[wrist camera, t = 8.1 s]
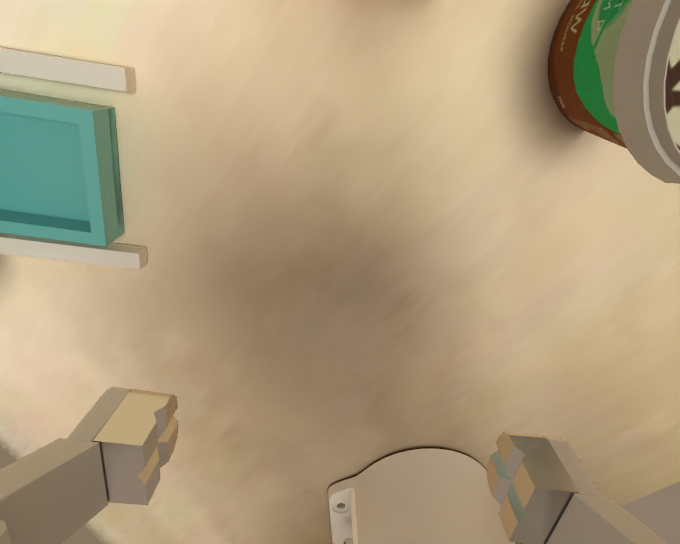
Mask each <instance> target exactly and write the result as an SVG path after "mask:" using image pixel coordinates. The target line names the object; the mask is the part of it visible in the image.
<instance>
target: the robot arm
mask: <svg viewBox="0 0 680 544" xmlns="http://www.w3.org/2000/svg"><path fill="white" fill-rule="evenodd" d="M176 409H177V397H176V396H175V395H172V394H165V393H158V392H150V391H143V390H136V389H133V390H132V389H125V388H118V387H111V388H109V389H107V390H106V391H105V392H104V394H103V395H102V396H101V397H100V398H99V400H98V401H97V402H96V403H95V405H94V406H93V407H92V408H91V409H90V411H89V412H88V413H87V414H86V416H85V417H84V418H83V419H82V421H81V422H80V423H79V424H78V425H77V427H76V428H75V429H74V430H73V432H72V433H71V434H70V435H69V437H68V438H67V439H62V438H59V439H58V440H56V441H54V442H52V443H50V444H48V445H46V446H44V447H42V448H40V449H38V450H37V451H35V452H33V453H31V454H29V455H27V456H25V457H23V458H21V459H19V460H18V461H16V462H14V463H12V464H10V465H8V466H6V467H4V468H2V469H0V544H61V543H63V542H64V541H65V540H66V539H68V538H69V537H70V536H71V535H72V534H74V533H75V532H76V531H77V530H78V529H79V528H81V527H82V526H83V525H84V524H86V523H87V522H88V521H89V520H90V519H92V518H93V517H94V516H95V515H96V514H98V513H99V512H100V511H101V510H102V509H104V508H105V507H106V506H107V505H108V502H111V503H125V504H140V505H148V503H149V501H150V499H151V497H152V495H153V493H154V491H155V489H156V486H157V484H158V482H159V480H160V467H162V466H163V465H165V464H166V463H167V462H169V459H170V457H171V455H172V453H173V450H174V447H175V444H176V440H177V434H178V421H177V420H176V418H175V417H174V416H173V415H174V413H175V411H176ZM496 444H497V447H498V449H499V450H498V451H497V452H496V453H494V454H493V455H491V456H490V459H489V462H488V465H487V471H486V470H485V468H484V467H483V466H482V465H481V464H479V463H478V462H477V461H475V460H474V459H472V458H470V457H468V456H466V455H464V454H461V453H458V452H455V451H450V450H444V449H415V450H409V451H404V452H400V453H397V454H394V455H391V456H388V457H386V458H384V459H382V460H380V461H378V462H376V463H374V464H373V465H371V466H370V467H368V468H367V469H366V470H364V471H363V472H362V473H360V474H359V475H357V476H355V477H353V478H349V479H346V480H343V481H340V482H338V483H335V484H333V485H332V486H330V487H329V489H328V501H329V513H330V524H331V535H332V544H515V542H518V543H525V544H669V543H668V542H666V541H665V540H664V539H663V538H661V537H660V536H659V535H657V534H656V533H655V532H653V531H652V530H651V529H649V528H648V527H647V526H646V525H644V524H643V523H642V522H640V521H639V520H638V519H637V518H635V517H634V516H633V515H632V514H630V513H629V512H628V511H626V510H625V509H623V508H622V507H621V506H620V505H619V504H617V503H616V502H615V501H613V500H612V499H611V498H610V497H604V496H602V494H601V493H600V491H599V490H598V488H597V487H596V485H595V484H594V482H593V481H592V479H591V478H590V476H589V474H588V473H587V471H586V470H585V468H584V467H583V465H582V464H581V462H580V461H579V459H578V458H577V456H576V454H575V453H574V451H573V450H572V448H571V447H570V445H569V444H568V442H567V441H566V440H564V439H563V438H559V437H549V436H537V435H528V434H518V433H509V432H503V433H501V434H500V435H499V437H498V439H497V442H496Z"/></svg>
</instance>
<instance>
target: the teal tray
mask: <svg viewBox="0 0 680 544" xmlns="http://www.w3.org/2000/svg"><path fill="white" fill-rule="evenodd" d="M0 232H1V233H8V234H16V235H23V236H31V237H38V238H46V239H53V240H61V241H69V242H76V243H84V244H91V245H99V246H107V245H109V244H110V243H111V242H112V241H114V240H115V239H116V238H118V237H119V236H120V235H122V234H123V233H124V223H123V210H122V197H121V185H120V172H119V159H118V146H117V134H116V121H115V108H112V107H106V106H100V105H94V104H88V103H82V102H76V101H70V100H64V99H58V98H52V97H45V96H39V95H33V94H27V93H21V92H15V91H9V90H3V89H0Z"/></svg>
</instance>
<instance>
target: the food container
mask: <svg viewBox="0 0 680 544" xmlns="http://www.w3.org/2000/svg"><path fill="white" fill-rule="evenodd" d="M548 78H549V85H550V89H551V92H552V95H553V99H554V101H555V103H556V104H557V106H558V108H559V110H560V111H561V112H562V114H563V115H564V116H565V117H566V118H567V119H568V120H569V121H570V122H571V123H573V124H574V125H575V126H577V127H579V128H581V129H583V130H585V131H587V132H589V133H591V134H594V135H596V136H598V137H601V138H603V139H605V140H608V141H610V142H613V143H615V144H617V145H620V146H622V147H624V148H627V149H628V150H629V152H630V153H631V154H632V156H633V157H634V158H635V160H636V161H637V162H638V164H640V165H641V166H642V167H643V168H644V169H645V170H646V171H648V172H649V173H650V174H651V175H653V176H654V177H656V178H658V179H660V180H662V181H663V182H665V183H679V184H680V0H571V1H570V3H569V4H568V6H567V8H566V9H565V11H564V13H563V14H562V16H561V18H560V20H559V23H558V25H557V27H556V30H555V32H554V35H553V39H552V42H551V46H550V52H549V58H548Z"/></svg>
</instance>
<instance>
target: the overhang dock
mask: <svg viewBox="0 0 680 544" xmlns="http://www.w3.org/2000/svg"><path fill="white" fill-rule="evenodd" d="M0 72H3V73H9V74H16V75H22V76H29V77H35V78H41V79H48V80H54V81H61V82H67V83H73V84H80V85H86V86H93V87H99V88H105V89H112V90H118V91H125V92H131V91H136V87H135V72H134V68H128V67H122V66H116V65H109V64H103V63H97V62H91V61H85V60H79V59H72V58H66V57H60V56H54V55H48V54H41V53H35V52H29V51H23V50H17V49H11V48H4V47H0ZM0 253H1V254H9V255H18V256H26V257H35V258H44V259H52V260H61V261H69V262H78V263H86V264H95V265H103V266H112V267H120V268H129V269H137V270H141V269H142V268H143V267H144V266H145V264H146V263H147V249H146V247H142V246H134V245H126V244H118V243H110V244H109V245H107V246H99V245H91V244H84V243H76V242H69V241H61V240H53V239H46V238H38V237H31V236H23V235H16V234H8V233H1V232H0Z"/></svg>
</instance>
